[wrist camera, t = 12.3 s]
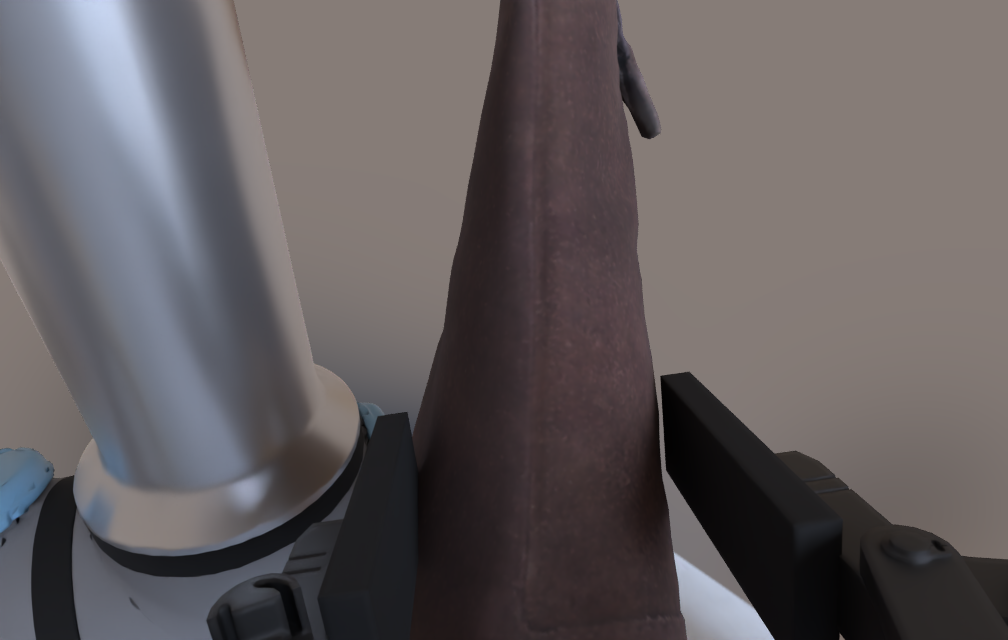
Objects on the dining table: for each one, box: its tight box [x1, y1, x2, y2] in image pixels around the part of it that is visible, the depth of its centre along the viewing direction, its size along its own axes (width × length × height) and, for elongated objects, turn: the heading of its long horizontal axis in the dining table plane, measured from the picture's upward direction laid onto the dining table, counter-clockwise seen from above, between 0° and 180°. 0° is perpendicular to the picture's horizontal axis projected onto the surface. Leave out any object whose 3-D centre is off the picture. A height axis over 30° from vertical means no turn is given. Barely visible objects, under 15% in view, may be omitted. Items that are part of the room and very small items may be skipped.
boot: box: [409, 0, 687, 640], centre depth 15 cm, size 9×24×20 cm, turn 175°
